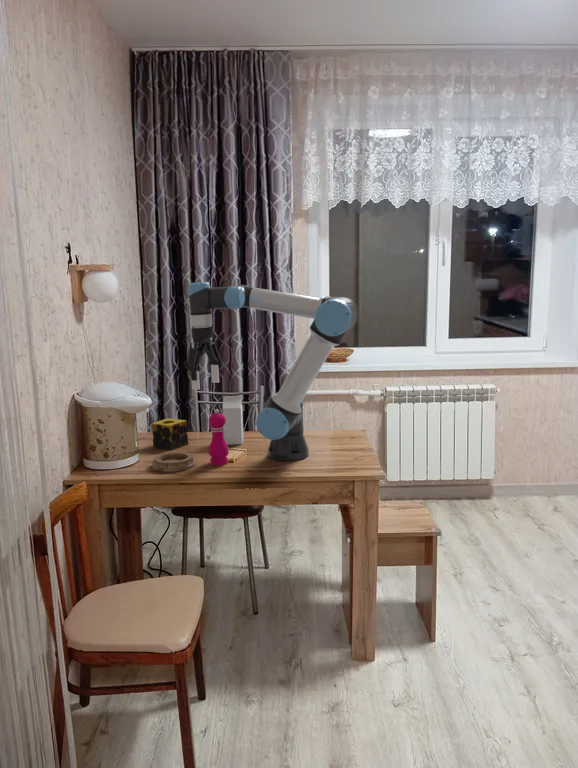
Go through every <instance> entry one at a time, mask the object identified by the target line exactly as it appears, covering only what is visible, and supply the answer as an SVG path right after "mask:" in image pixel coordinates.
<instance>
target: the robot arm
mask: <svg viewBox="0 0 578 768" xmlns="http://www.w3.org/2000/svg"><path fill="white" fill-rule="evenodd" d="M188 302H189V303H188V304H189V312H190V313H189V314H190V315H189V316H190V326H191V328H190V329H191V338H193V339H194V342H193V341H192V342H190V343H189V352H188V359H187V362H186V363H187V364H186V371H188V372H190V377H191V389H192V390H193V391H194V390H196V391H198V390H199V391H200V390H201V385H200V384H201V383H200V382H201V381H200V372H199V371H200V370H198V368H199V366H200V363H201V359H202V356H203V355H204V354H205V355H206V357H208V359H209V361H210V363H211V364H210V373H211V375H210V376H211V383H215V384H217V383H220V375H219V372H220V371H219V365H221V364H222V357H221V355H220V352H219V349H218V346H217V341H216V337H214V328H213V317H212V316H213V315H212V310H228V309H230V310H235V309H241V308H247V309H255V310H258V311H259V310H260V311H265V312H271V313H278V314H283V315H288V316H294V317H295V316H296V317H301V318H307V319H313V321H312V322H311V325H310V327H309V330H310V335H309V337H308V339H307V341H306V342H305V344H304V346H303V347H302V349H301V351H300V353H299V354H298V357H297V358H296V360H295V362H294V364H293V365H292V368H291V369H290V370H289V373H288V374H287V376H286V378H285V379H284V381H283V383H282V385H281V387H280V388H279V390H278V392H275V393H272V394H271V396H270V397H269V399H268V401H267V403H266V404H265V407H264V408H263V409H261V410H259V412H258V414H257V417H256V419H255V420H256V421H255V424H256V428H257V430H258V432H259V433H260V434H261V436H263V438H265V439H268V440H270V442H269V445H268V449H267V455H268V456H267V457H268V458H270V459H272V460H275V461H284V462H285V461H298V460H302V459H305V458H307V457H309V455H310V454H309V453H310V452H309V450H310V449H309V446H308V444H307V441H306V438H305V435H304V434H305V433H304V402H303V400H304V398H305V396H306V395H307V393H308V391H309V389H310V388H311V386H312V384H313V383H314V381H315V379H316V377H317V376H318V375H319V372H320V371H321V368H322V367H323V365H324V363H325V362H326V360H327V358H328V356H329V355H330V353H331V351H332V349H333V348H334V347H337V346H340V345H341V343H342V341H343V340H344V338H345V336H346V335H347V333H348V332H349V330H351V329H352V328H353V327H354V326H355V325H356V323H357V322H358V318H359V309H358V306H357V304H356V303H355V302H354V301H353V300H352V299H350V298H348V297H345V296H329V295H323V296H322V297H315V296H309V295H303V294H302V295H301V294H298V293H297V294H296V293H290V292H284V291H283V292H282V291H278V290H270V289H265V288H258V287H251V286H248V285H245V284H238V285H232V286H231V285H230V286H218V287H211V285H210V282H208V281H201V282H191V283H189V284H188Z"/></svg>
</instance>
